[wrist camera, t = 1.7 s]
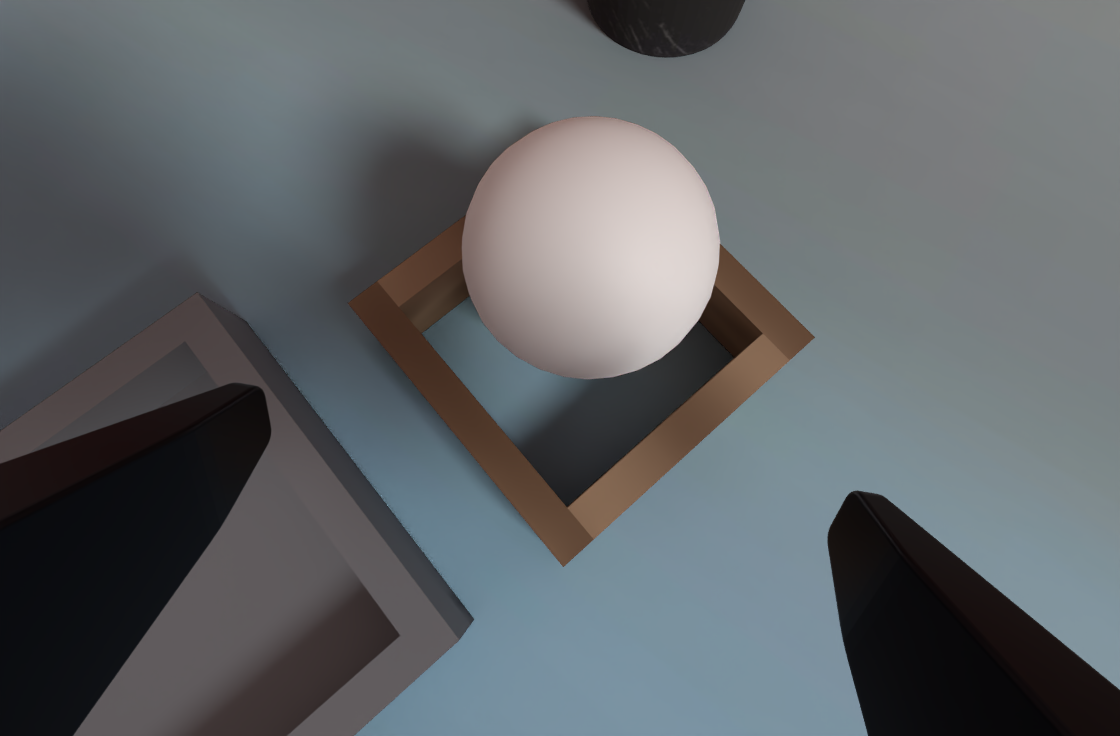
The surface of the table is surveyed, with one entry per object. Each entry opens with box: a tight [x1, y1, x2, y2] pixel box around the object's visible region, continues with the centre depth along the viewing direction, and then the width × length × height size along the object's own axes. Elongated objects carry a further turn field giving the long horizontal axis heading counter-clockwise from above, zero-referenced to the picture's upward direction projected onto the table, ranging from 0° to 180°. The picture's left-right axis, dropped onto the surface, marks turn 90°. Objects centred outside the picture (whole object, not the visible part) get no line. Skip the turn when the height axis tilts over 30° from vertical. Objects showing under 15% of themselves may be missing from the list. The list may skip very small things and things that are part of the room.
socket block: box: [348, 215, 815, 567], centre depth 20 cm, size 11×11×3 cm
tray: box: [0, 292, 474, 736], centre depth 17 cm, size 16×14×3 cm
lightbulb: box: [462, 116, 720, 379], centre depth 16 cm, size 6×6×11 cm
